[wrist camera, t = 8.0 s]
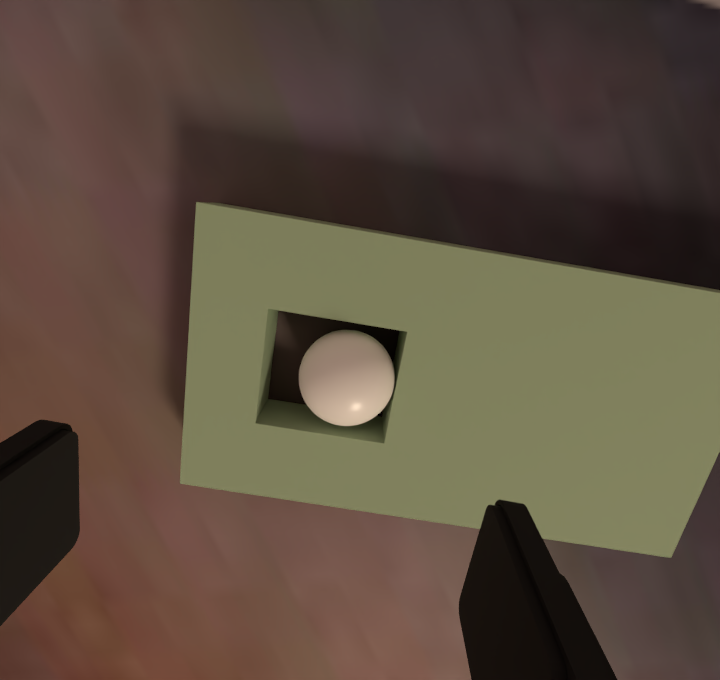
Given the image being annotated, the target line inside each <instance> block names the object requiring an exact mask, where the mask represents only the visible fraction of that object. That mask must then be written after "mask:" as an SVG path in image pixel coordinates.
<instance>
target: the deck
mask: <svg viewBox="0 0 720 680" xmlns="http://www.w3.org/2000/svg"><path fill="white" fill-rule="evenodd" d="M278 310H279V311H285V312H291V313H297V314H303V315H309V316H315V317H321V318H327V319H333V320H339V321H345V322H351V323H357V324H363V325H369V326H375V327H381V328H387V329H393V330H399V336H398V341H397V346H396V351H395V356H394V360H393V367H394V372H395V383H394V389H393V393H392V395H391V398H390V400H389V402H388V403H387V405H386V406H385V408H384V410H383V415H382V417H379V416H375V417H374V418H372V419H371V420H369V421H367V422H365V423H362V424H359V425H354V426H340V425H334V424H331V423H328V422H326V421H324V420H322V419H321V418H319V417H318V416H317V415H315V414H314V413H313V412H312V411H311V410H310V408H309V407H308V406H307V405H304V404H298V403H291V402H285V401H279V400H273V399H268V395H269V387H270V378H271V370H272V361H273V353H274V344H275V336H276V327H277V319H278ZM719 452H720V290H716V289H710V288H705V287H699V286H693V285H687V284H682V283H676V282H670V281H664V280H659V279H653V278H647V277H641V276H636V275H630V274H624V273H619V272H613V271H607V270H601V269H596V268H590V267H584V266H578V265H573V264H567V263H561V262H555V261H550V260H544V259H538V258H532V257H527V256H521V255H515V254H509V253H504V252H498V251H492V250H486V249H481V248H475V247H469V246H463V245H458V244H452V243H446V242H440V241H435V240H429V239H423V238H417V237H412V236H406V235H400V234H394V233H389V232H383V231H377V230H371V229H366V228H360V227H354V226H349V225H343V224H337V223H331V222H326V221H320V220H314V219H308V218H303V217H297V216H291V215H285V214H280V213H274V212H268V211H262V210H257V209H251V208H245V207H239V206H234V205H228V204H222V203H210V202H196V214H195V231H194V248H193V266H192V283H191V300H190V317H189V334H188V352H187V369H186V386H185V403H184V421H183V438H182V455H181V472H180V484H186V485H193V486H200V487H206V488H213V489H219V490H226V491H233V492H239V493H246V494H252V495H259V496H266V497H272V498H279V499H285V500H292V501H299V502H305V503H312V504H318V505H325V506H332V507H338V508H345V509H351V510H358V511H365V512H371V513H378V514H385V515H391V516H398V517H404V518H411V519H418V520H424V521H431V522H437V523H444V524H451V525H457V526H464V527H470V528H477V529H480V528H481V524H482V521H483V517H484V514H485V511H486V508H487V506H488V505H495V503H496V501H497V500H505V501H511V502H517V503H522V504H525V505H526V507H527V509H528V511H529V513H530V515H531V517H532V519H533V521H534V523H535V525H536V527H537V529H538V531H539V533H540V535H541V537H542V538H543V539H550V540H556V541H563V542H569V543H576V544H583V545H589V546H596V547H603V548H609V549H616V550H622V551H629V552H636V553H642V554H649V555H655V556H662V557H669V558H671V557H672V554H673V552H674V550H675V548H676V546H677V544H678V541H679V539H680V537H681V535H682V533H683V530H684V528H685V526H686V524H687V522H688V519H689V517H690V515H691V513H692V511H693V508H694V506H695V504H696V502H697V500H698V498H699V495H700V493H701V491H702V489H703V487H704V484H705V482H706V480H707V478H708V476H709V473H710V471H711V469H712V467H713V465H714V463H715V460H716V458H717V456H718V454H719Z"/></svg>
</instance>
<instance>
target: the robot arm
mask: <svg viewBox="0 0 720 680" xmlns="http://www.w3.org/2000/svg"><path fill="white" fill-rule="evenodd" d="M79 531H80V521H79V457H78V435H77V434H76V433H75V432H73V431H72V428H71V426H70V425H68V424H65V423H59V422H53V421H48V420H39V421H36V422H34V423H33V424H31V425H29V426H28V427H26V428H24V429H23V430H21V431H19V432H18V433H16V434H14V435H13V436H11V437H9V438H8V439H6V440H4V441H3V442H1V443H0V626H1V625H2V624H3V623H4V622H5V620H6V619H7V618H8V617H9V616H10V615H11V614H12V613H13V612H14V611H15V610H16V609H17V607H18V606H19V605H20V604H21V603H22V602H23V601H24V600H25V599H26V598H27V597H28V596H29V594H30V593H31V592H32V591H33V590H34V589H35V588H36V587H37V586H38V585H39V584H40V583H41V581H42V580H43V579H44V578H45V577H46V576H47V575H48V574H49V573H50V572H51V571H52V570H53V568H54V567H55V566H56V565H57V564H58V563H59V562H60V561H61V560H62V559H63V558H64V557H65V555H66V554H67V553H68V552H69V551H70V550H71V549H72V548H73V546H74V545H75V543H76V541H77V539H78V536H79ZM459 616H460V622H461V627H462V632H463V637H464V642H465V648H466V653H467V658H468V663H469V668H470V673H471V679H472V680H617V678H616V676H615V674H614V672H613V670H612V668H611V666H610V664H609V662H608V660H607V658H606V656H605V654H604V652H603V650H602V648H601V646H600V644H599V642H598V640H597V638H596V637H595V635H594V633H593V631H592V629H591V627H590V625H589V623H588V621H587V619H586V617H585V615H584V613H583V611H582V609H581V607H580V605H579V603H578V601H577V599H576V597H575V595H574V593H573V591H572V589H571V587H570V585H569V583H568V582H567V580H566V579H565V577H564V576H563V575H561V574H560V573H559V571H558V569H557V567H556V565H555V563H554V561H553V559H552V557H551V555H550V553H549V551H548V549H547V547H546V545H545V543H544V541H543V539H542V537H541V535H540V533H539V531H538V529H537V527H536V525H535V523H534V521H533V519H532V517H531V515H530V513H529V511H528V509H527V507H526V505H525V504H522V503H517V502H511V501H505V500H497V501H496V503H495V505H488V506H487V508H486V511H485V514H484V517H483V521H482V524H481V528H480V531H479V534H478V538H477V541H476V545H475V548H474V551H473V555H472V558H471V562H470V565H469V568H468V572H467V575H466V579H465V582H464V585H463V589H462V592H461V596H460V601H459Z"/></svg>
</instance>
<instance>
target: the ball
mask: <svg viewBox="0 0 720 680" xmlns="http://www.w3.org/2000/svg"><path fill="white" fill-rule="evenodd" d="M394 383H395V372H394V367H393V363H392V360H391V358H390V356H389V354H388V352H387V351H386V349H385V348H384V347H383V345H381V344H380V343H379V342H378V341H377V340H376V339H375V338H373V337H372V336H370V335H368V334H366V333H363V332H360V331H356V330H338V331H333V332H330V333H328V334H326V335H324V336H322V337H320V338H319V339H318V340H316V341H315V342H314V343H313V344H312V345H311V346H310V347H309V349H308V350H307V351H306V353H305V355H304V357H303V359H302V362H301V365H300V369H299V387H300V391H301V394H302V397H303V399H304V401H305V403H306V404H307V406H308V407H309V408H310V410H311V411H312V412H313V413H314V414H315V415H317V416H318V417H319V418H321V419H322V420H324V421H326V422H328V423H331V424H334V425H340V426H354V425H359V424H362V423H365V422H367V421H369V420H371V419H372V418H374V417H375V416H377V415H378V414H379V413H380V412H381V411H382V410H383V409H384V408H385V406H386V405H387V403H388V402H389V400H390V398H391V395H392V393H393V389H394Z"/></svg>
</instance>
